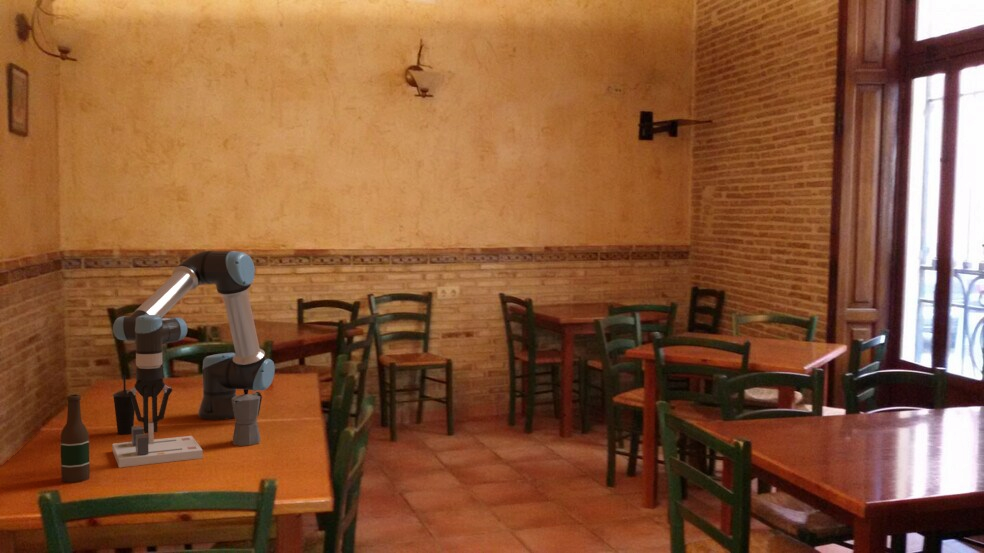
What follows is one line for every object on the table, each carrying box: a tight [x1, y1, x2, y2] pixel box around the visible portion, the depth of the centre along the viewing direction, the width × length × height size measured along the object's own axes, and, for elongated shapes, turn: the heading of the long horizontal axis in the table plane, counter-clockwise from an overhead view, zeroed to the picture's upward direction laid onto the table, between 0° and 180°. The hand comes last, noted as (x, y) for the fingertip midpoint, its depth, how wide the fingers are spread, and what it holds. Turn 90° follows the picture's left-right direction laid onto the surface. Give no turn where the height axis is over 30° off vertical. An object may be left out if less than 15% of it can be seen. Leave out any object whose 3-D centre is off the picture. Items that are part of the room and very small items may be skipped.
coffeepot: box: [231, 389, 263, 447], centre depth 297 cm, size 15×9×18 cm, turn 162°
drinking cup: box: [112, 374, 138, 436], centre depth 307 cm, size 8×8×20 cm
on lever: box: [131, 425, 145, 446], centre depth 283 cm, size 3×5×5 cm, turn 27°
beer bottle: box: [60, 393, 91, 484], centre depth 254 cm, size 8×8×24 cm
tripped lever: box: [136, 433, 148, 455], centre depth 273 cm, size 3×5×5 cm, turn 28°
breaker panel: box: [112, 435, 204, 469], centre depth 281 cm, size 24×20×3 cm
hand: (150, 443), depth 274 cm, fingers closed
